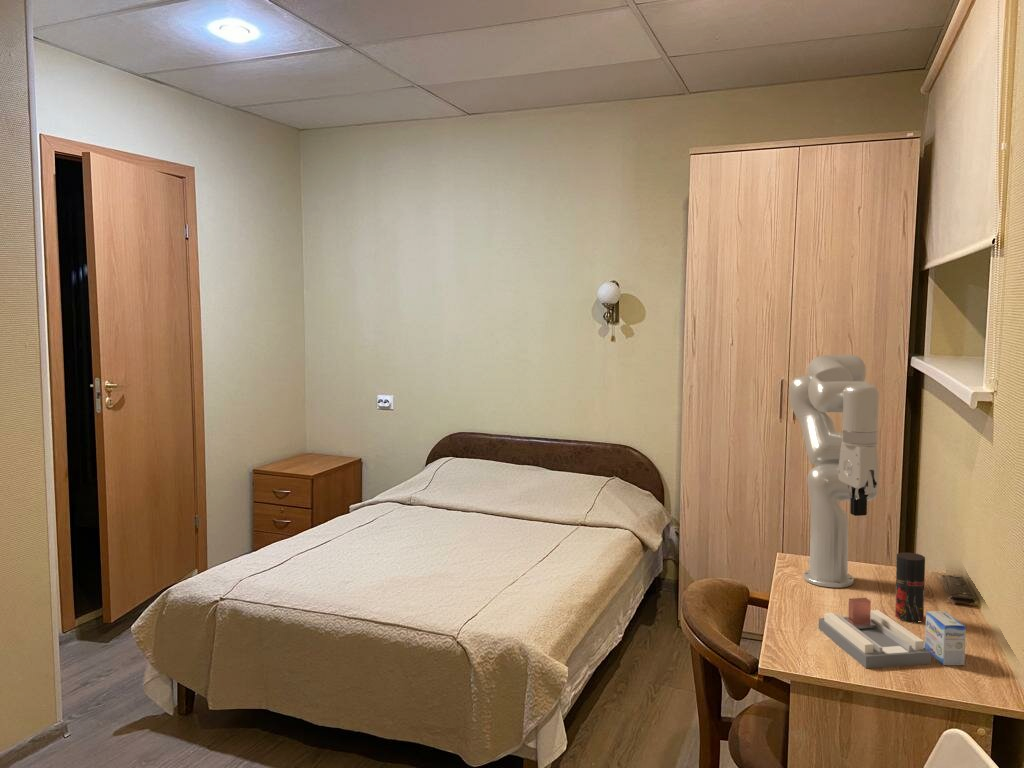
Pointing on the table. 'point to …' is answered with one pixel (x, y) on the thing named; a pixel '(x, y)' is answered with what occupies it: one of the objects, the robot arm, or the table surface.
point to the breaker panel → (876, 641)
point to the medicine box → (945, 638)
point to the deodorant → (910, 587)
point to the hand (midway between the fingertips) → (858, 514)
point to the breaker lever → (860, 613)
